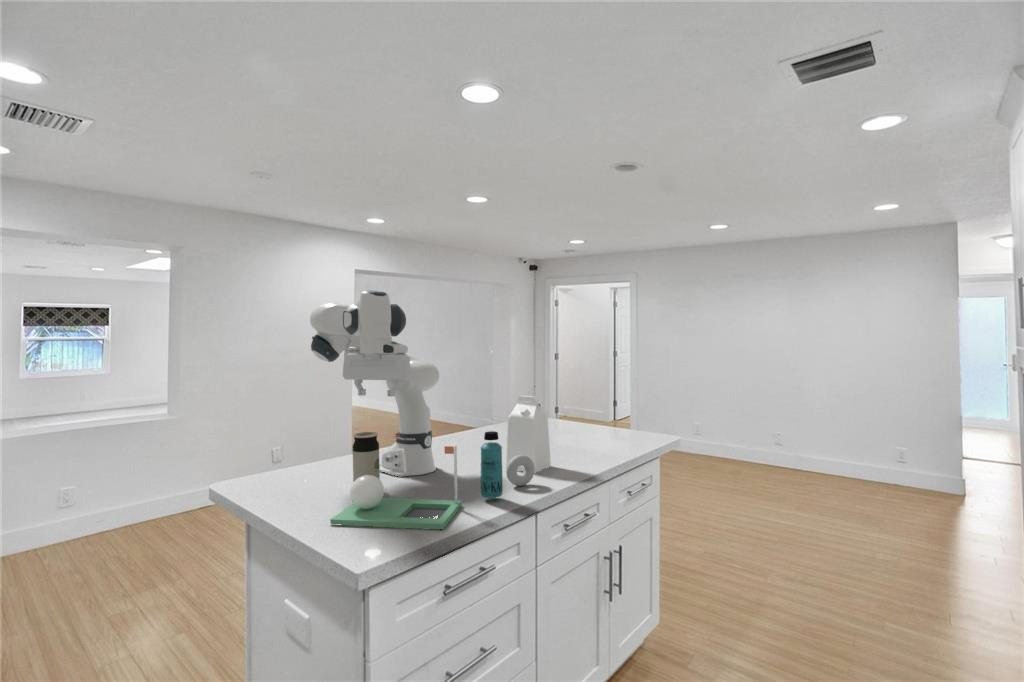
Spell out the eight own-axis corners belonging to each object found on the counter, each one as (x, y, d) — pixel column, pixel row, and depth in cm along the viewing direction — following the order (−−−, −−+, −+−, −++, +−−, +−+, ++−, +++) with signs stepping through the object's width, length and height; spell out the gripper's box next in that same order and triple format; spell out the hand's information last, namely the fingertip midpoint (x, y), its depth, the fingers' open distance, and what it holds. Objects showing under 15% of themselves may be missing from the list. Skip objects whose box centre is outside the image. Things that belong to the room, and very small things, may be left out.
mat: (330, 525, 130) (329, 457, 130) (362, 502, 148) (360, 442, 148) (442, 530, 126) (441, 459, 125) (461, 506, 143) (460, 444, 143)
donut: (509, 489, 158) (509, 457, 158) (504, 487, 161) (503, 455, 161) (537, 484, 163) (536, 453, 163) (531, 482, 166) (531, 451, 166)
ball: (342, 511, 137) (342, 477, 137) (367, 501, 144) (366, 469, 144) (367, 516, 132) (366, 481, 132) (391, 505, 140) (390, 473, 140)
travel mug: (348, 493, 157) (346, 435, 157) (364, 486, 164) (362, 431, 164) (369, 496, 154) (368, 437, 154) (384, 488, 161) (383, 432, 161)
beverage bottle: (480, 497, 151) (479, 430, 151) (502, 495, 152) (501, 429, 152) (481, 504, 145) (479, 434, 145) (504, 503, 145) (502, 433, 145)
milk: (550, 466, 186) (549, 395, 185) (535, 473, 176) (533, 398, 176) (522, 462, 192) (521, 393, 192) (506, 469, 182) (504, 397, 182)
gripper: (337, 347, 144) (338, 396, 144) (402, 347, 138) (402, 397, 138) (350, 347, 150) (351, 393, 150) (413, 346, 144) (413, 395, 144)
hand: (376, 395), depth 144 cm, fingers open, 8 cm apart
